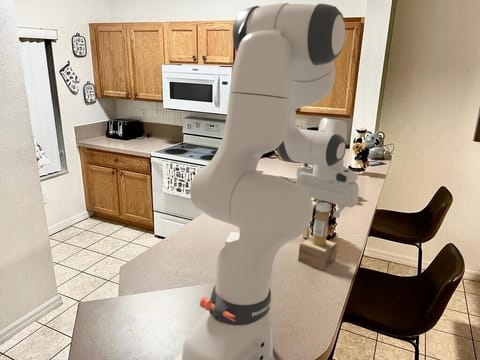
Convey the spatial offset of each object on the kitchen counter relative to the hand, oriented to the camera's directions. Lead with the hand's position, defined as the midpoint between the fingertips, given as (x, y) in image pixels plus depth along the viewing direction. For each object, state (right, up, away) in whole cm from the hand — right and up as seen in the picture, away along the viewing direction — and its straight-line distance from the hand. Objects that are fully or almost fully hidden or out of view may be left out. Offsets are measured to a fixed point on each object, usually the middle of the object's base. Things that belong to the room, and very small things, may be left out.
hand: (322, 213), depth 114 cm
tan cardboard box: (-1, -16, +4) cm, 17 cm away
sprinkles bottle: (-1, -10, +3) cm, 11 cm away
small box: (-28, -17, -4) cm, 33 cm away
